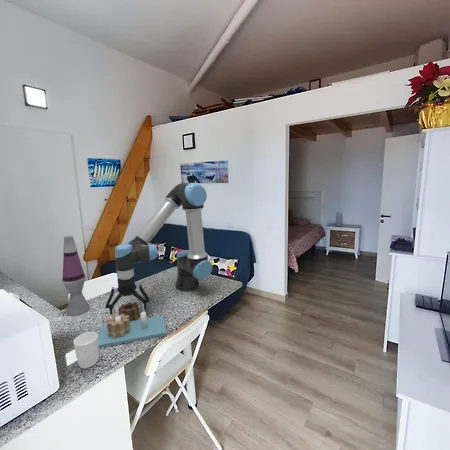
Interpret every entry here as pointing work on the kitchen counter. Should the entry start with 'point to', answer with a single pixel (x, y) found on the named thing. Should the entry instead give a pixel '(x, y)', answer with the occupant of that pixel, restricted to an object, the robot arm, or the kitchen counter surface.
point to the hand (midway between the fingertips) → (129, 317)
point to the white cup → (87, 349)
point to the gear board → (134, 331)
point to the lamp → (73, 278)
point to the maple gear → (118, 326)
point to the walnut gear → (130, 310)
